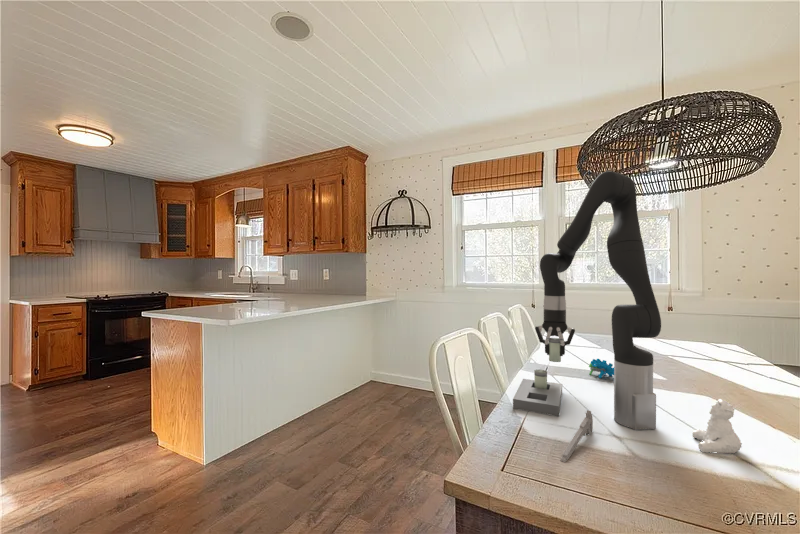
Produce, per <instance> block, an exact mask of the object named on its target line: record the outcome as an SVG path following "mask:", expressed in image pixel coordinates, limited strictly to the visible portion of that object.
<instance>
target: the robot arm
mask: <svg viewBox="0 0 800 534" xmlns="http://www.w3.org/2000/svg"><path fill="white" fill-rule="evenodd" d="M603 203H606V204H607V203H608V204H610V206H611V208H612V215H613V223H612V227H611V229H610V231H609V233H608V236H607V239H606V240H607V241H606V248H607V255H608V261H609V262H608V263H609V264H610V266H611V268H612V269H613V270H614V272H615V273H616V274H617V275H618V276H619V278H620V279H621V280H623V282H625V284H626V285H627V287H629V289H630V291H631V293H632V296H633V298H634V301H635V304H616V306H614V308H613V309H612V313H611V333H612V334H611V335H612V350H613V355H614V357H613V359H614V360H613V363H614V364H613V368H614V375H613V377H614V378H613V379H614V380H613V385H614V386H613V392H614V393H613V419H614V422H617V424H620V425H622V426H625V427H628V428H630V429H633V430H636V431H637V430H638V431H640V430H641V431H642V430H656V429H657V394H656V393H654V354H653V353H652V352H650V351H648V350H646V349H643V348H639V347H637V346H636V345H634V341H633V339H635V338H639V339H640V338H641V339H644V338H645V339H649V338H650V339H653V338H657V337H658V336H659V335H660V333H661V331H662V318H661V314H660V309H659V306H658V303H657V300H656V297H655V293H654V289H653V287H652V284H651V279H650V274H649V271H648V270H649V269H648V264H647V259H646V253H645V246H644V242H643V238H642V232H641V226H640V222H639V221H640V220H639V215H638V204H637V190H636V184H635V181H634V180H633V179H632V178H631V177H629V176H627V175H624V174H622V173H619V172H617V171H616V172H615V171H610V170H607V171H603V172H601V173H599V175H598V176H596V178H595V179H594V181H593V182H592V184H591V186H589V189H588V191H587V193H586V195H585V197H584V199H583V201H582V203H581V204H580V207H579V208H578V211H577V213H576V214H575V217H574V219H573V220H572V221H571V223H570V225H569V226H568V227H567V228H566V230H565V231H564V233H563V234H562V236H561V237H560V238H559V240H558V242H557V244H556V245H557V246H556V247H557V248H558V251H557V253H545V254H543V256H542V257H541V258H540V262H539V270H540V273H541V278H542V281H543V287H544V289H543V291H544V292H543V294H544V295H543V304H542V307H543V322H542V324H541V325H536V326H535V327H534V329H535V332H536V334H537V339H538V341H539V343H542V344H544V353H545V354H546V355H547V356H549V339H550V338H551V337H557V338H559V339H560V343H561V357H563V356H565V353H566V346H569V345H571V342H572V340H573V337H574V335H575V332H576V330H575V327H569V326H568V325H567V300H566V284H565V281H564V280H563V279H560V278H559V274H562V273H564V272H565V271H567V270H569V268H570V267H571V265H572V263H573V261H574V259H575V256H576V254H577V251H578V250H579V249H580V248H581V247H582V246H583V244H584V243H585V242H586V241H587V239H588V237H589V235H590V233H591V230H592V229H591V228H592V224H593V223H592V222H593V220H594V216H595V214H596V212H597V210H598V209H599V208H600V207H601V206H602V204H603ZM543 330H544V331H545V333H546V337H545V338H544V337H543V333H542V331H543ZM566 331H567V334H569V335H568V337H567V339H566V340H564V335H563V334H564V333H565V332H566Z"/></svg>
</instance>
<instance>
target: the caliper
mask: <svg viewBox="0 0 800 534" xmlns="http://www.w3.org/2000/svg"><path fill="white" fill-rule="evenodd" d="M593 428H594V425H593V414H592V411H591V410H588V409H587V410H586V412H585V417H584V418H583V419H582V422H581V423H580V424H579V428H578V429H577V431H576V432H575V433H574V435H573V437H572V438H571V440H570V441H569V442H568V444H567V446H566V448H565V449H564V450H563V452H562V454H561V455H562V456H561V457H560V461H561V462H564V463H566V462H567V460H569V459H570V457H571V456H572V454H573V452H574V451H575V449H576V447H577V445H579V443H580V441H581V439H583V436H584V437H585V436H586V435H588V434H589V436H591V433H593V430H594V429H593Z"/></svg>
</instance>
